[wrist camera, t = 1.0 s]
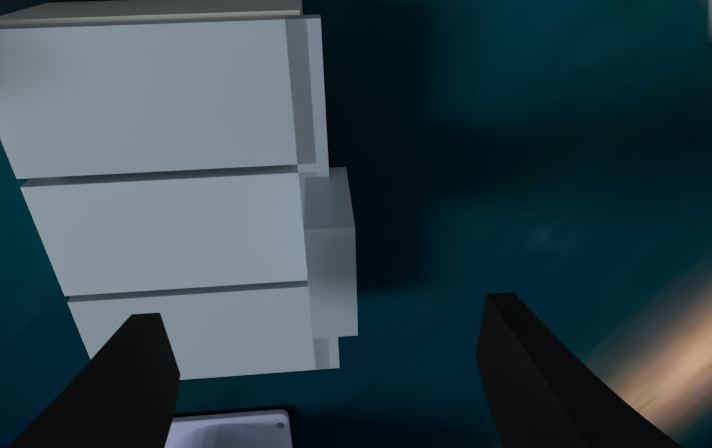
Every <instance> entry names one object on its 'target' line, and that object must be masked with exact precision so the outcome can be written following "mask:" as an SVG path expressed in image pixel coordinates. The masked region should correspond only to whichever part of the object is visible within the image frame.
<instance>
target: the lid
mask: <svg viewBox="0 0 712 448" xmlns="http://www.w3.org/2000/svg"><path fill="white" fill-rule="evenodd" d="M0 139H1V142H2V144H3V147H4V149H5V151H6V154H7V156H8V159H9V161H10V164H11V166H12V169H13V171H14V173H15V176H16V178H17V179H24V178H30V179H29V180H28V181H27V182H26V183H25V184H23V185H22V186H21V187H20V188H21V191H22V193H23V195H24V198H25V200H26V203H27V205H28V208H29V210H30V213H31V215H32V217H33V220H34V222H35V225H36V227H37V230H38V232H39V235H40V237H41V239H42V242H43V244H44V247H45V249H46V252H47V254H48V257H49V259H50V261H51V264H52V266H53V269H54V271H55V274H56V276H57V279H58V281H59V283H60V286H61V288H62V291H63V293H64V296H71V298H70V299H69V301H68V302H67V303H68V305H69V308H70V310H71V313H72V315H73V318H74V320H75V323H76V325H77V327H78V330H79V332H80V335H81V337H82V340H83V342H84V345H85V347H86V349H87V352H88V354H89V357H90V359H92V358H93V357H94V355H95V354H96V353H97V352H98V351H99V350H100V349H101V348H102V346H103V345H104V344H105V343H106V342H107V341H108V340H109V339H110V337H111V336H112V335H113V334H114V333H115V332H116V331H117V330H118V329H119V327H120V326H121V325H122V324H123V323H124V322H125V321H126V320H127V319H128V318H129V317H130V316H131V314H144V313H160V314H161V317H162V320H163V323H164V326H165V329H166V332H167V335H168V338H169V341H170V344H171V347H172V350H173V353H174V356H175V359H176V362H177V365H178V368H179V371H180V374H181V375H180V380H185V379H198V378H211V377H224V376H238V375H251V374H264V373H277V372H291V371H304V370H317V369H330V368H339V351H338V337H340V336H354V335H358V323H357V285H356V246H355V224H354V217H353V210H352V204H351V197H350V191H349V184H348V177H347V171H346V167H337V168H329V164H328V146H327V127H326V109H325V90H324V71H323V53H322V34H321V17H320V14H319V15H290V16H261V17H232V18H203V19H174V20H145V21H116V22H87V23H58V24H29V25H0Z"/></svg>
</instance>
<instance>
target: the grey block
mask: <svg viewBox="0 0 712 448" xmlns="http://www.w3.org/2000/svg"><path fill="white" fill-rule="evenodd" d="M290 15H303V10H302V0H115V1H84V2H53V3H44V4H40V5H37V6H33V7H30V8H26V9H23V10H19V11H16V12H12V13H9V14H5V15H2V16H0V25H29V24H58V23H87V22H116V21H145V20H174V19H203V18H232V17H261V16H290Z"/></svg>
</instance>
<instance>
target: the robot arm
mask: <svg viewBox="0 0 712 448" xmlns="http://www.w3.org/2000/svg"><path fill="white" fill-rule="evenodd" d="M476 359H477V364H478V368H479V372H480V377H481V381H482V385H483V389H484V393H485V397H486V401H487V403H488V406H489V409H490V412H491V415H492V417H493V420H494V423H495V426H496V428H497V431H498V434H499V437H500V439H501V442H502V445H503V447H504V448H683V447H681V446H680V445H679V444H677V443H676V442H675V441H673V440H672V439H671V438H670V437H668V436H667V435H666V434H664V433H663V432H662V431H661V430H659V429H658V428H657V427H655V426H654V425H653V424H652V423H650V422H649V421H648V420H646V419H645V418H644V417H643V416H641V415H640V414H639V413H638V412H637V411H635V410H634V409H633V408H632V407H631V406H629V405H628V404H627V403H626V402H625V401H624V400H622V399H621V398H620V397H619V396H618V395H617V394H616V393H615V392H613V391H612V390H611V389H610V388H609V387H608V386H607V385H606V384H604V383H603V382H602V381H601V380H600V379H599V378H598V377H597V376H596V375H595V374H594V373H593V372H591V371H590V370H589V369H588V368H587V367H586V366H585V365H584V364H583V363H582V362H581V361H580V360H579V359H578V358H577V357H576V356H575V355H574V354H573V353H572V352H571V351H570V350H569V349H568V348H567V347H566V346H565V345H564V344H563V343H562V342H561V341H560V340H559V339H558V338H557V337H556V336H555V335H554V334H553V333H552V332H551V331H550V330H549V329H548V328H547V327H546V326H545V325H544V324H543V323H542V322H541V321H540V320H539V318H538V317H537V316H536V315H535V314H534V313H533V312H532V311H531V310H530V309H529V308H528V307H527V306H526V305H525V304H524V303H523V302H522V301H521V300H520V298H519V297H518V296H517V295H516V294H514V293H513V292H512V293H494V294H486V299H485V305H484V311H483V317H482V323H481V329H480V335H479V340H478V346H477V352H476ZM180 375H181V374H180V371H179V368H178V365H177V362H176V359H175V356H174V353H173V350H172V347H171V344H170V341H169V338H168V335H167V332H166V329H165V326H164V323H163V320H162V317H161V314H160V313H144V314H131V316H130V317H129V318H128V319H127V320H126V321H125V322H124V323H123V324H122V325H121V326H120V327H119V329H118V330H117V331H116V332H115V333H114V334H113V335H112V336H111V337H110V339H109V340H108V341H107V342H106V343H105V344H104V345H103V346H102V348H101V349H100V350H99V351H98V352H97V353H96V354H95V355H94V357H93V358H92V359H91V360H90V361H89V362H88V363H87V364H86V365H85V367H84V368H83V369H82V370H81V371H80V372H79V373H78V374H77V375H76V376H75V377H74V379H73V380H72V381H71V382H70V383H69V384H68V385H67V386H66V387H65V388H64V389H63V390H62V391H61V393H60V394H59V395H58V396H57V397H56V398H55V399H54V400H53V401H52V402H51V403H50V404H49V405H48V406H47V407H46V408H45V409H44V410H43V411H42V412H41V413H40V414H39V415H38V416H37V417H36V418H35V419H34V420H33V421H32V422H31V423H30V424H29V425H28V426H27V427H26V428H25V429H24V430H23V431H22V432H21V433H20V434H19V435H18V436H17V437H16V438H15V439H14V440H13V441H12V442H11V443H10V444H9V445H8V446H7V447H6V448H293V445H292V438H291V431H290V423H289V416H288V413H287V412H286V411H285V410H282V409H277V410H265V411H252V412H240V413H227V414H215V415H202V416H190V417H177V418H173V416H174V410H175V405H176V400H177V394H178V387H179V381H180Z"/></svg>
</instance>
